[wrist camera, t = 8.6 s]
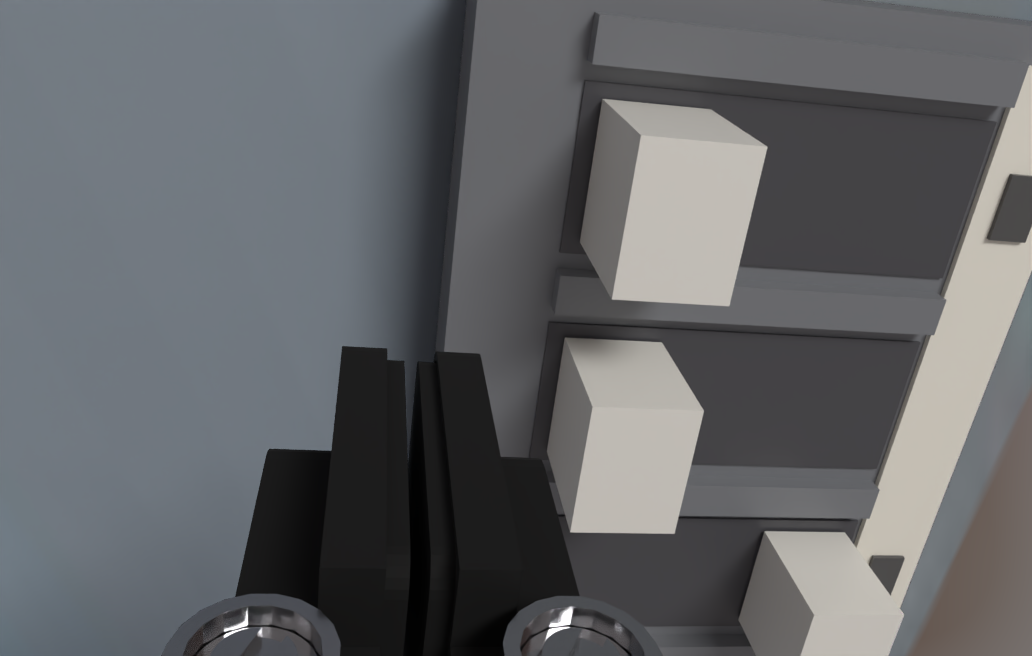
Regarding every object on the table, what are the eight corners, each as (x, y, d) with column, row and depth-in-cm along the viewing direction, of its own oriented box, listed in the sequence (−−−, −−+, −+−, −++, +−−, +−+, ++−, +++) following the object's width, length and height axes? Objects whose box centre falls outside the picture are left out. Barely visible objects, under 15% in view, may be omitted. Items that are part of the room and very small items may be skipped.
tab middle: (638, 454, 28) (674, 533, 25) (546, 451, 28) (569, 532, 24) (661, 342, 27) (703, 410, 23) (564, 337, 26) (592, 406, 23)
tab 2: (815, 619, 33) (867, 708, 29) (738, 619, 32) (782, 709, 29) (844, 532, 31) (904, 614, 27) (764, 531, 31) (814, 615, 27)
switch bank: (839, 618, 37) (882, 685, 34) (410, 619, 34) (413, 694, 31) (1051, 23, 27) (1139, 40, 24) (471, -48, 24) (483, -40, 21)
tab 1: (681, 248, 26) (729, 306, 22) (579, 242, 25) (611, 299, 21) (710, 109, 24) (767, 146, 20) (602, 98, 23) (640, 135, 20)
